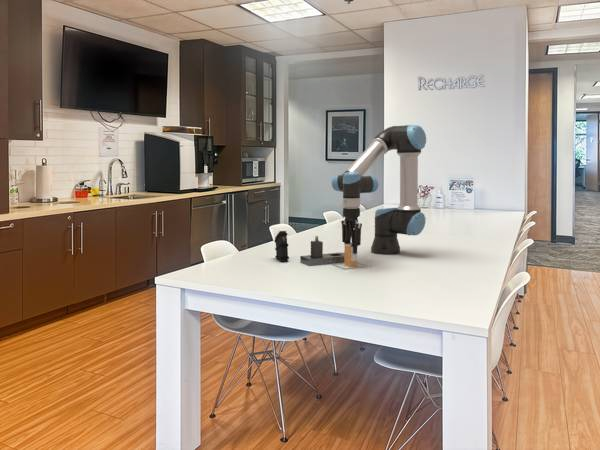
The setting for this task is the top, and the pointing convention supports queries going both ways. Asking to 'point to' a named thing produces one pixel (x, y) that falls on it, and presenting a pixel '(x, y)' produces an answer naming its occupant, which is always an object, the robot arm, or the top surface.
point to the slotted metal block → (323, 259)
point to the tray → (350, 268)
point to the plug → (348, 256)
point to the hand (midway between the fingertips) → (351, 259)
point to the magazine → (281, 246)
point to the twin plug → (316, 248)
